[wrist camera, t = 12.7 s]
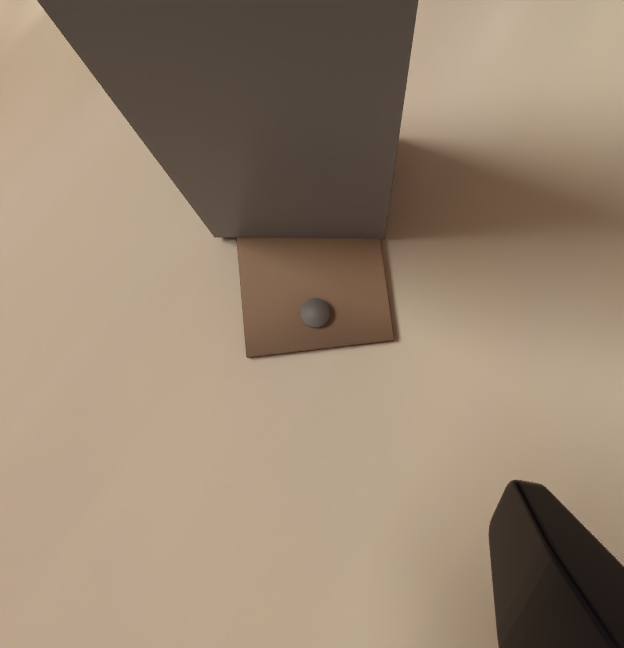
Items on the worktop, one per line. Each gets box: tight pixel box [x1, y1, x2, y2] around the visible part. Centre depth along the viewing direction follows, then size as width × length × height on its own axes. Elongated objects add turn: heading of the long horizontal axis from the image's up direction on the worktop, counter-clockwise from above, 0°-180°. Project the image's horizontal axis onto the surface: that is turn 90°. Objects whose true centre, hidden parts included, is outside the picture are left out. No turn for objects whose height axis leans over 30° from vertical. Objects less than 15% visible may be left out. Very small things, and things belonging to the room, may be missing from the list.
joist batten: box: [237, 238, 394, 358], centre depth 19 cm, size 12×5×1 cm, turn 6°
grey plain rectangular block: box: [37, 0, 418, 239], centre depth 13 cm, size 4×6×13 cm
